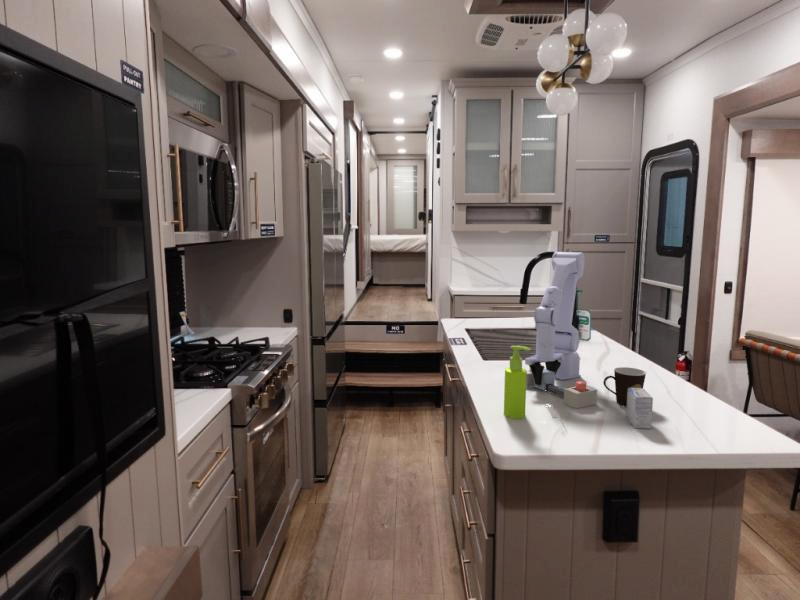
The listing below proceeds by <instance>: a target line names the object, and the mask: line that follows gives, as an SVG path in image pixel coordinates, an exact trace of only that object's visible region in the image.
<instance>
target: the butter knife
mask: <svg viewBox="0 0 800 600" xmlns="http://www.w3.org/2000/svg"><path fill="white" fill-rule="evenodd" d="M546 404H547V403H544V404H543V406H544V405H545V406H548V405H546ZM548 404H549V405H551V407H549V406H548V407H546V408H547V409H548V410H547V409H546V408H545V409H546V410H547V411H548V412H549V413H550V415H551V418H552V419H558V416H557V414H556V413H555V408H553V407H554V405H553V404H552V403H548ZM545 406H544V407H545ZM558 420H559V421H560V422H561V425H562V427H563V428H564V429H565V431H566V432H568V430H567V428H566V426H565V424H564V422H563V421H562V419H560V418H559V419H558Z"/></svg>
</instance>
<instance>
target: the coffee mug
mask: <svg viewBox="0 0 800 600" xmlns="http://www.w3.org/2000/svg"><path fill="white" fill-rule="evenodd" d="M613 371H614V375H609V376H606V377H605V378H604V379H603V387H605V388H606V389H607V391H609V392H610V393H612V394H614V395H615V401H616V404H617V405H619V406H621V405H622V407H625V406H627V392H628V388H642V389H644V385H645V381H646V380H645V379H646V375H647V372H646V371H644V369H639V368H635V367H629V366H627V367H626V366H621V367H616V368H614V369H613ZM608 379H613V380H614V385H615V386H614V387H615V388H614V389H615V391H614V390H612V389H611V388H609V387H608V386H607V383H606V382H607V380H608Z"/></svg>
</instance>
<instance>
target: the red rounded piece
mask: <svg viewBox="0 0 800 600" xmlns="http://www.w3.org/2000/svg"><path fill="white" fill-rule="evenodd" d="M586 386H587V382H585V381H581V380H578V381H576V382H575V387H576V388H575V390H576V391H579V392H585V391H586Z"/></svg>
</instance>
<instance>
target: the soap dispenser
mask: <svg viewBox="0 0 800 600" xmlns="http://www.w3.org/2000/svg"><path fill="white" fill-rule="evenodd" d="M510 349H511V350H512V356H510V357H509V367H506V368H505V369H504V393H503V394H504V396H503V397H504V398H503V404H504V405H503V415H504V416H505V417H506V418H509V419H514V420H515V419H519V420H520V419H523V418H525V417H526V401H527V400H526V399H527V387H526V373H527V371H528V370H527V369H525V368H523V357H521V356H520V351H521V350H522V351H525V352H530V351H531V350H532V348H530V347H527V346H524V345H518V344H517V345H515V344H514V345H511V346H510Z"/></svg>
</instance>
